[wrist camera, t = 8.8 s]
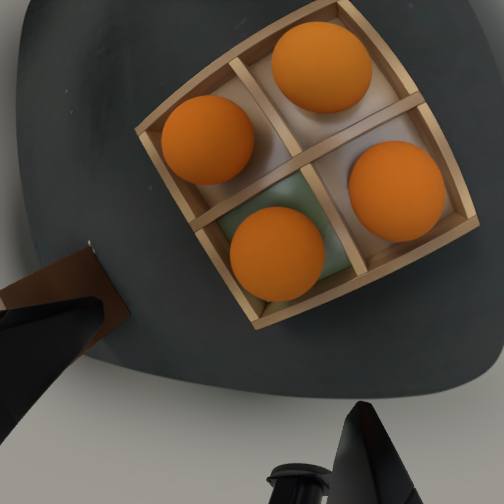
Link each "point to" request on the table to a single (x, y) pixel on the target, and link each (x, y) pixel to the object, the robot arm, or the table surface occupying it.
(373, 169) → the clementine
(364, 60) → the clementine
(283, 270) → the clementine
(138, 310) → the table surface
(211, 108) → the clementine
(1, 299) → the brown wooden block
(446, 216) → the fruit rack
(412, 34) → the table surface
